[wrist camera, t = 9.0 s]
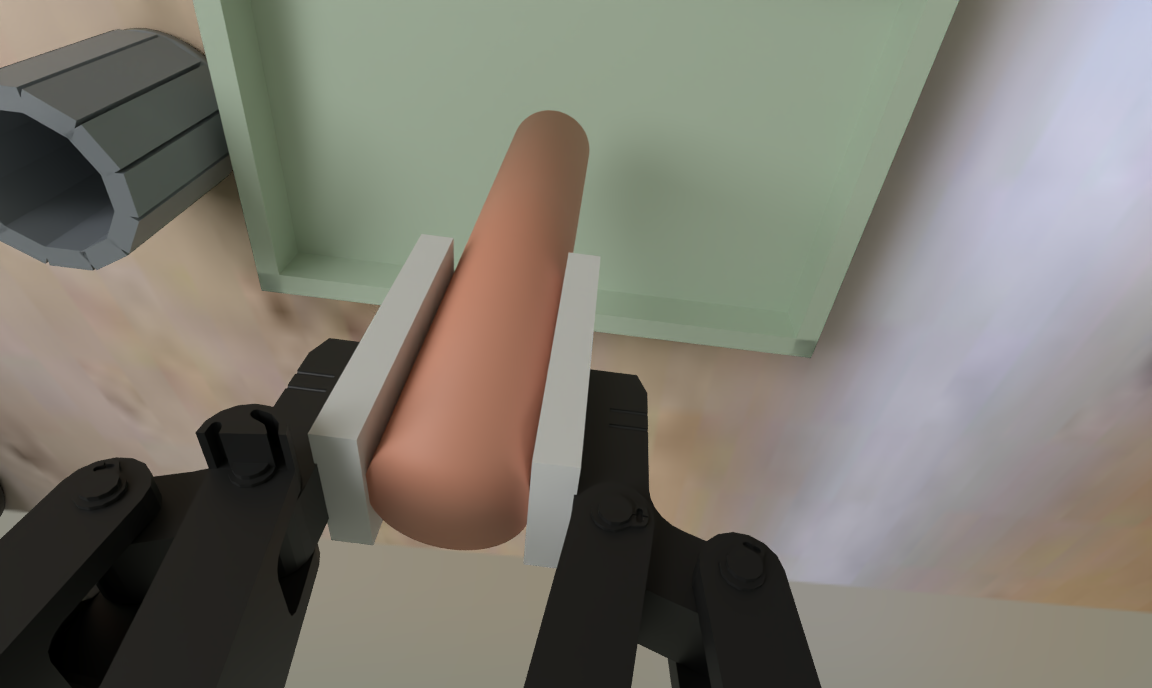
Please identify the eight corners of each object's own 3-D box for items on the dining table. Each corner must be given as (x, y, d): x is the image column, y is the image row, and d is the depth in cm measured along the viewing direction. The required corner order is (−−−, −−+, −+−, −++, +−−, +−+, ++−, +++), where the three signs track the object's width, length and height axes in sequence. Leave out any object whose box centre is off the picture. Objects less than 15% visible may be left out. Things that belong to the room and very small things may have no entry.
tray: (288, 259, 32) (261, 290, 30) (194, -207, 21) (141, -215, 19) (798, 322, 33) (810, 358, 30) (964, -111, 22) (1003, -107, 19)
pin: (516, 175, 25) (213, 486, 12) (520, 101, 23) (170, 374, 10) (671, 208, 24) (515, 586, 11) (687, 133, 22) (523, 480, 9)
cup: (119, 172, 30) (-17, 257, 24) (66, 18, 26) (-116, 70, 20) (259, 189, 30) (160, 278, 24) (227, 38, 26) (97, 97, 20)
